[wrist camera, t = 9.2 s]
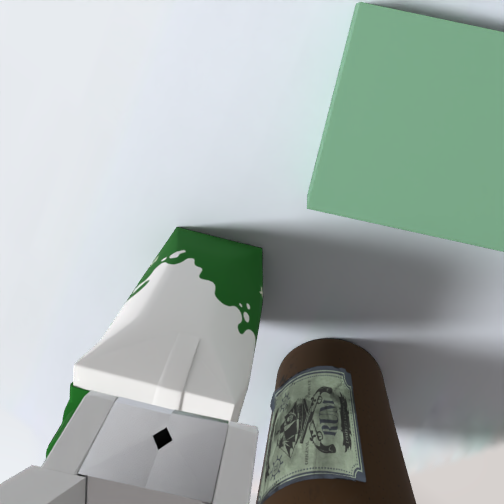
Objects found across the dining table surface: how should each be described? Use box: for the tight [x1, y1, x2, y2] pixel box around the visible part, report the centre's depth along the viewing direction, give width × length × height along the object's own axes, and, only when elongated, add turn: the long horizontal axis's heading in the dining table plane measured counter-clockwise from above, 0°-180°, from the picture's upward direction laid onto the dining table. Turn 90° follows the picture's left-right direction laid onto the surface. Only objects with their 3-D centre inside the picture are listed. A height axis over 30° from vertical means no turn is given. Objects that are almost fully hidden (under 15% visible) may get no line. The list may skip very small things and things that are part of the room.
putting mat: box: [307, 2, 504, 252], centre depth 32 cm, size 22×13×3 cm, turn 79°
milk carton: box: [46, 227, 263, 458], centre depth 31 cm, size 9×9×20 cm
